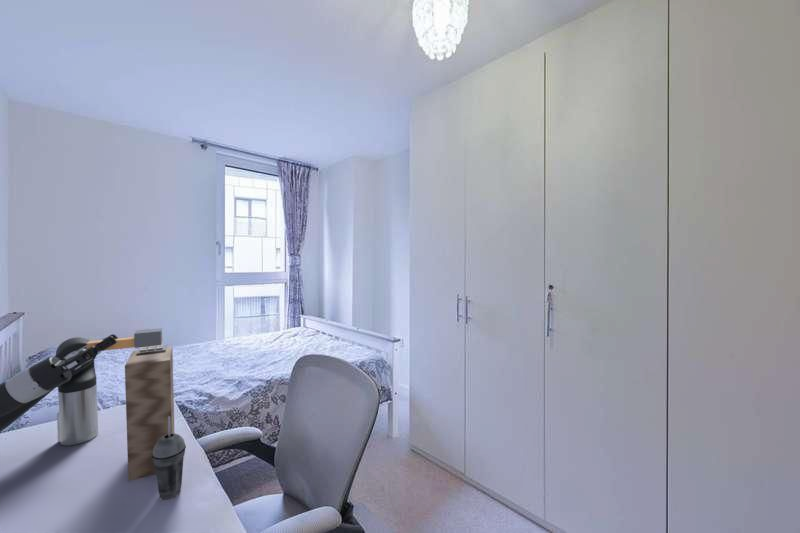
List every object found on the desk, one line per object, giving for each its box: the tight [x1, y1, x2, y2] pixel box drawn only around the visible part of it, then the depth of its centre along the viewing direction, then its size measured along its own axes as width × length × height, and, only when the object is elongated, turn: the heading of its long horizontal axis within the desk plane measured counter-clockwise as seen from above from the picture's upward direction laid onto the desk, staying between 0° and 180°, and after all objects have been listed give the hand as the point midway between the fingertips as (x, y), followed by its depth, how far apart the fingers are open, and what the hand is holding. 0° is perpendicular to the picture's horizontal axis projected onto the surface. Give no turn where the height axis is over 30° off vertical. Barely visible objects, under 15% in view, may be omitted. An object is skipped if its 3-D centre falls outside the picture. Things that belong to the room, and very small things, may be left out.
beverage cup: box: [152, 416, 187, 501], centre depth 88 cm, size 7×7×20 cm
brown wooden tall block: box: [124, 344, 176, 483], centre depth 101 cm, size 10×16×33 cm, turn 32°
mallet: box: [87, 327, 163, 352], centre depth 95 cm, size 16×4×4 cm, turn 122°
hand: (115, 338), depth 93 cm, fingers closed on mallet, 2 cm apart
